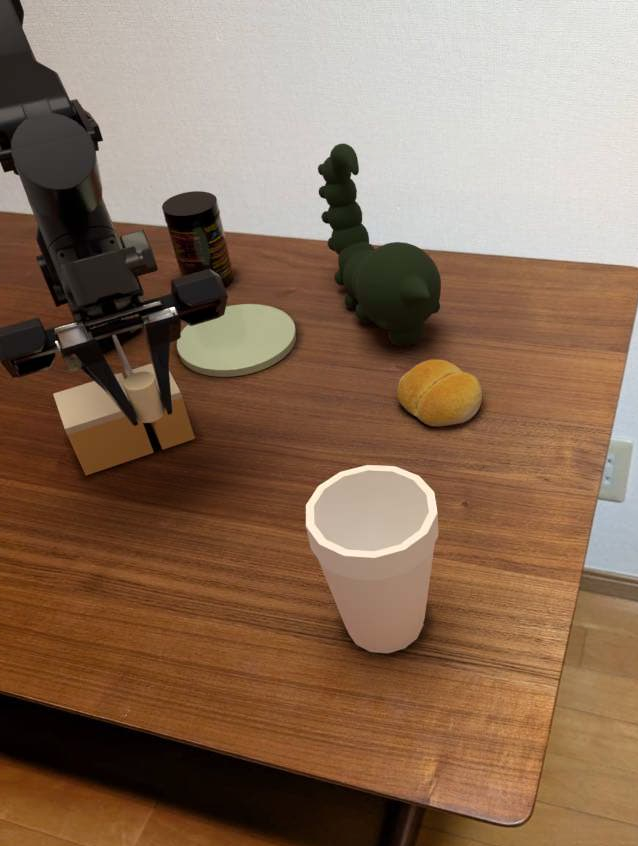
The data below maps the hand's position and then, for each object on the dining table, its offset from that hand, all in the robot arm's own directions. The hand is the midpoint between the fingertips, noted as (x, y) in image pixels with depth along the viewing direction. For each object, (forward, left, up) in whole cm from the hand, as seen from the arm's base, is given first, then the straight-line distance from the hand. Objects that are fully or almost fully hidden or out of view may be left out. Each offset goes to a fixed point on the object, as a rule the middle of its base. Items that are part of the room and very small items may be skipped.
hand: (153, 419), depth 70 cm
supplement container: (-31, +31, -12) cm, 46 cm away
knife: (-8, +4, -6) cm, 11 cm away
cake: (-14, +2, -11) cm, 18 cm away
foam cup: (+24, +1, -12) cm, 26 cm away
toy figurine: (-6, +37, -12) cm, 39 cm away
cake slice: (-12, +8, -11) cm, 18 cm away
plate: (-17, +23, -11) cm, 31 cm away
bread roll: (+10, +27, -12) cm, 31 cm away
